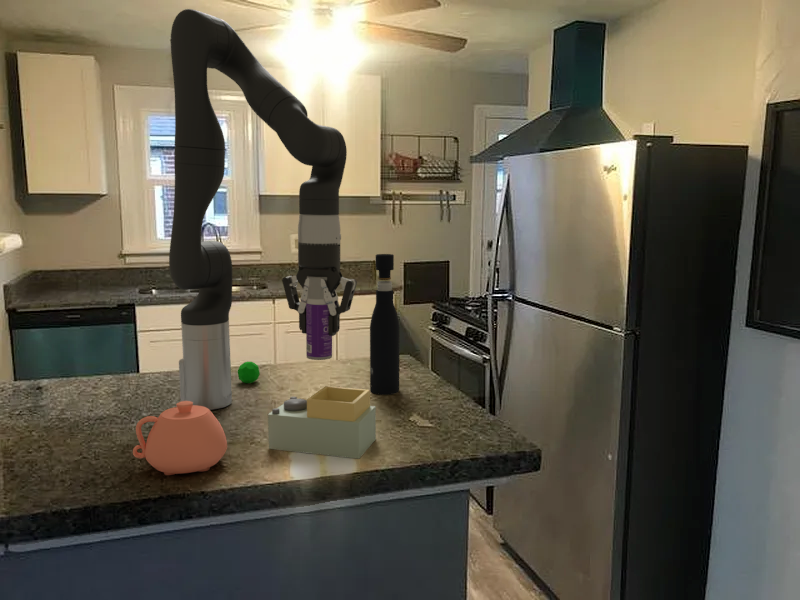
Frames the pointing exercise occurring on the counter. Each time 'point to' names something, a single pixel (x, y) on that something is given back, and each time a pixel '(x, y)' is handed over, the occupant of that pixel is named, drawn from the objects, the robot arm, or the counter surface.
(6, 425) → the counter surface
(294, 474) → the counter surface
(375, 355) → the wine bottle
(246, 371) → the polyhedron
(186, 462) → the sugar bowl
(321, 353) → the container
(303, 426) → the grey-green box with tray
